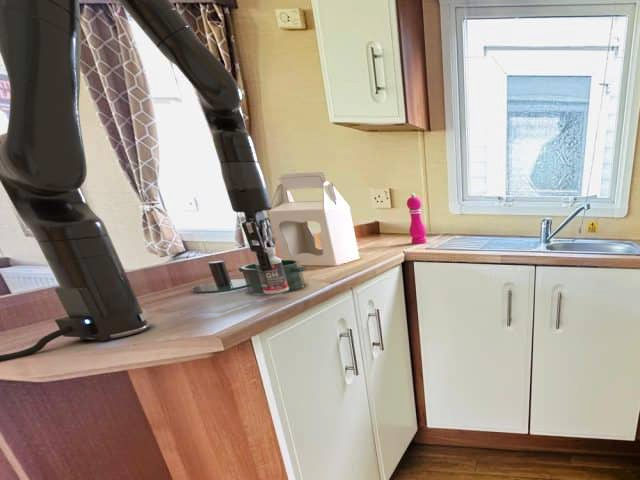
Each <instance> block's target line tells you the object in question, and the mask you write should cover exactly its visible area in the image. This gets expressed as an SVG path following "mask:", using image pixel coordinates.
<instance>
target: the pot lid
mask: <svg viewBox="0 0 640 480" xmlns="http://www.w3.org/2000/svg"><path fill="white" fill-rule="evenodd" d="M207 264H208V267H209V270H210V273H211V276H212V278H213V282H208V283H204V284H199V285H196V286H194V287H193V288H192V289H191V290H192V292H193V293H195V294H213V293H214V294H215V293H221V292H223V293H225V292H230V291H235V290H240V289H244V288H247V284H246V281H245V278H240V279H239V278H238V279H236V278H235V279H231V278H230V275H229V271H228V268H227V265H226V262H225V260H214V261H209V262H208V263H207Z"/></svg>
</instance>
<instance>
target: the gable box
mask: <svg viewBox="0 0 640 480" xmlns="http://www.w3.org/2000/svg"><path fill="white" fill-rule="evenodd" d="M278 180H279V182H280V184H278V185H277V186H276V187H277V188H276V190H275V194H274V196H273V199H272V201H271V205H272V209H271V210H268V212H269V218H270V221H271V223H272V227H273V232H274V235H275V238H276V242H277V245H278V250H279V253H280V257H281V260H298V261H299V262H300V266H308V267H309V266H311V267H312V266H314V267H316V266H319V267H337V266H341V265H344V264H347V263H350V262H354V261H358V260H360V253H359V248H358V243H357V237H356V233H355V228H354V227H355V226H354V223H353V218H352V213H351V207H350V205H349V204H348V203H347V201H346V200H345V199H344V198H343V197H342V195H341V194H340V193H339V192H338V190H337V189H336V188H335V186H334V185H333V182H329V181H327V180H326V177H325V174H324V173H323V172H322V171H313V172H312V171H311V172H298V173H295V172H294V173H283V174H281V176H280V177H279V178H278ZM306 189H307V190H309V189H322V198H323V199H322V200H311V201H310V200H309V201H307V200H306V201H295V199H294V197H293V196H292V193H291V190H306ZM309 222H316V223H318V224H319V226H320V246H321V248H318V247H317V246H316V242H315V241H316V239H315V236H314V234H313V232H312V230H311V227H310V226H309Z"/></svg>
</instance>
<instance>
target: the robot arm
mask: <svg viewBox="0 0 640 480" xmlns="http://www.w3.org/2000/svg"><path fill="white" fill-rule="evenodd" d="M117 2H118V3H119V4H120V5H121V6H122V7H123V9H124V10H125V11H126V12H127V13H128V15H129V16H130V17H131V18H132V19H133V20H134V22H135V23H136V24H137V26H138V27H139V28H140V29H141V30H142V31H143V33H144V34H145V35H146V36H147V37H148V39H149V40H150V41H151V42H152V44H154V46H155V47H156V48H157V49H158V51H160V53H161V54H162V55H163V56H164V58H166V59H167V60H168V62H170V63H171V64H174V65H175V67H177V68H178V70H179V71H180V72H181V73H182V74H183V75H184V77H185V78H186V79H187V81H189V83H190V84H191V85H192V87H193V88H194V89H195V90H196V93H197V97H198V100H199V104H200V106H201V109H202V112H203V114H204V117H205V119H206V122H207V125H208V127H209V130H210V133H211V136H212V141H213V145H214V149H215V152H216V155H217V159H218V163H219V165H220V169H221V170H220V171H221V176H222V179H223V183H224V186H225V189H226V192H227V196H228V199H229V202H230V205H231V209H232V211H233V212H235V213H243V214H244V218H245V220H244V222H241V227H242V229H243V232H244V235H245V238H246V240H247V243H248V246H249V249H250V251H251V252H252V253H254V254H255V255H257V256H256V258H257V259H258V262H259V265H260V269H261V270H262V271H270V270H272V265H271V262H270V258H269V255H268V253H267V252H268V249H267V247H273V248H275V245H276V241H275V238H274V233H273V232H274V231H273V229H272V225H271V218H270V217H266V216H265V214H264V212H265V211H269V210H271V209H272V201H271V199H270V195H269V191H268V187H267V183H266V180H265V176H264V172H263V170H262V168H261V166H260V162H259V159H258V155H257V152H256V148H255V144H254V142H253V139H252V135H250V133H249V132H248V130H247V126H246V122H245V119H244V115H243V111H242V107H241V106H242V102H243V94H242V91H241V87H240V86H239V84H238V82H237V81H236V79H235V78H234V77H233V75H232V74H231V72H230V71H229V70H228V69H227V68H226V67H225V65H224V64H223V63H222V62H221V61H220V60H219V59H218V57H216V56H215V55H214V54H213V52H212V51H211V50H210V49H209V48H208V47H207V46H206V45H205V44H204V43H203V42H202V41H201V39H200V38H199V36H198V35H197V34H196V32H195V31H194V29H193V28H192V27H191V26H190V24H189V23H188V21H187V20H186V19H185V18H184V16H183V15H182V14H181V12H180V11H179V9H177V7H176V6H175V4H174V3H173V2H172V1H171V0H117ZM80 8H81V7H80V0H0V56H1V59H2V62H3V66H4V67H5V71H6V73H7V74H6V75H7V78H8V83H9V84H8V85H9V96H10V98H9V114H8V115H9V116H8V125H7V130H6V132H5V133H3V134H0V184H1V185H2V188H3V189H4V191H5V192H6V194H7V197H8V199H9V200H10V202H11V204H12V206H13V207H14V209H15V211H16V212H17V215H18V216H19V218H20V219H21V221H22V222H23V223H24V224H25V225H26V226H27V228H28V229H29V230H30V231H31V233H32V236H33V237H34V239H35V241H36V242H37V244H38V247H39V249H40V250H41V253H42V254H43V256H44V258H45V260H46V262H47V264H48V266H49V268H50V270H51V272H52V275H54V278H55V280H56V282H57V284H58V286H56V287H55V288H54V291H55V293H56V295H57V297H58V299H59V301H60V303H61V305H62V307H63V309H64V311H65V313H66V314H67V316H64V317H59V318H56V319H54V322H55V323H56V325H57V327H58V329H57V330H55V331H53V332H51V333H49V334H47V335H45V336H43V337H41V338H40V339H39V340H38V341H37V343H35V344H34V345H33V346H30V347H28V348H26V349H22V350H19V351H14V352H10V353H5V354H0V362H4V361H9V360H15V359H18V358H19V359H20V358H21V357H22V358H23V357H27V356H30V355H32V354H34V353H35V354H36V353H38V352H40V351H42V350H43V349H44V348H45V346H46V345H47V344H49V343H50V342H51V341H53V340H55V339H57V338H59V337H66V338H79V340H80V341H96V342H97V341H98V342H106V341H109V340H113V339H119V338H123V337H128V336H131V335H135V334H139V333H141V332H144V331H146V330H148V329H149V328H150V327H151V326H150V324H149V322H148V321H147V320H148V318H149V316H148V313H147V311H146V310H144V311H143V309H142V307H141V304H140V302H139V300H138V298H137V295H136V293H135V291H134V289H133V286H132V284H131V281H130V279H129V278H128V275H127V273H126V271H125V268H124V266H123V264H122V261H121V259H120V257H119V253H117V250H116V248H115V245H114V243H113V241H112V238H111V236H110V234H109V231H108V230H107V229H108V228H107V227H106V225H105V223H104V221H103V220H102V219H101V218H100V217H99V216H98V215H97V214H96V213H95V212H94V210H92V208H91V207H90V205H89V203H88V202H87V199H86V198H85V196H84V193H83V191H82V190H81V187H82V186H83V184H84V183H85V181H86V178H87V175H88V173H87V172H88V167H87V159H86V152H85V147H84V140H83V139H84V138H83V133H82V126H81V118H80V91H81V59H82V57H81V56H82V26H81V25H82V22H81V21H82V20H81V10H80ZM257 259H256V260H257Z"/></svg>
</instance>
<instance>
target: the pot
mask: <svg viewBox="0 0 640 480" xmlns="http://www.w3.org/2000/svg"><path fill="white" fill-rule="evenodd" d="M281 261H282V265H283V269H284V272H285V276H286V280H287V284H288V287H289V290H287V291H285V292H282V293H277V295H279V294H286V293H292V292H295V291H299V290H301V289H303V288H305V287H306V282H305V277H304V274H303V273H304V272H306V271H307V267H306V265H300V262H299V261H298V260H282V259H281ZM238 271H239V272H240V273H242V274H243V279H245V281H246V284H247V287H246V288H247V291H248V292H249V293H251V294H265V293H264V291H263V288H262V285H261V282H260V278H259V275H258V272H257V268H256V265H255V262H254V263H250V264H245V265H243V266H241V267H238Z"/></svg>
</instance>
